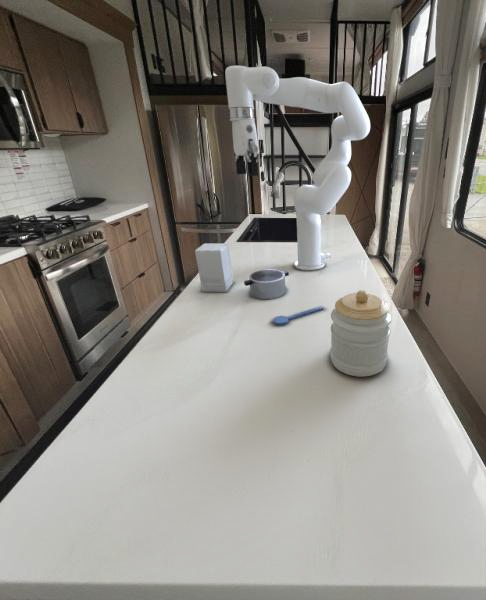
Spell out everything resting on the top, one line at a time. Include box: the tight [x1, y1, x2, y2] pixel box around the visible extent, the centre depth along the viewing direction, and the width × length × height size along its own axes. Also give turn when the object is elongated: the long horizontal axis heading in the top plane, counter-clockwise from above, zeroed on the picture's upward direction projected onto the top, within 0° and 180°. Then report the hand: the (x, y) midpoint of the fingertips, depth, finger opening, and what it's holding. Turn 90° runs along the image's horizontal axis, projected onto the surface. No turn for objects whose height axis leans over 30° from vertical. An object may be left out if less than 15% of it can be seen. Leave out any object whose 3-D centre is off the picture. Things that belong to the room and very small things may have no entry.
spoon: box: [273, 306, 324, 326], centre depth 95 cm, size 16×4×1 cm, turn 122°
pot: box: [243, 268, 290, 300], centre depth 110 cm, size 16×12×6 cm
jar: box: [329, 289, 393, 377], centre depth 71 cm, size 13×13×18 cm
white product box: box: [194, 242, 234, 293], centre depth 113 cm, size 9×9×15 cm
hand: (247, 174), depth 107 cm, fingers open, 9 cm apart
